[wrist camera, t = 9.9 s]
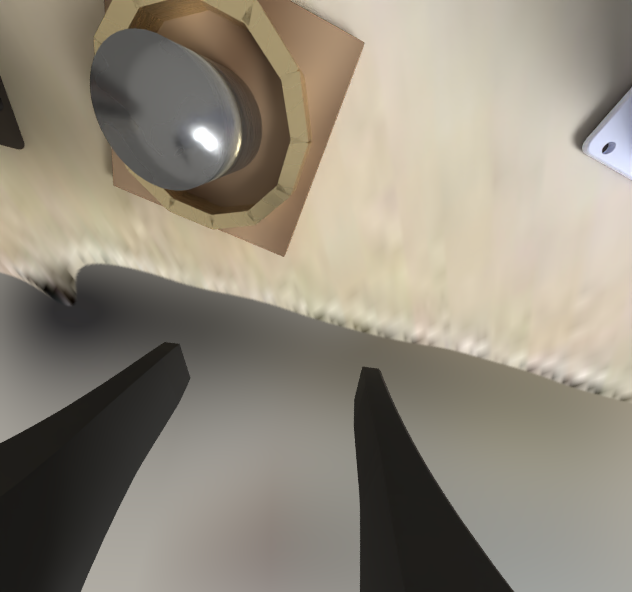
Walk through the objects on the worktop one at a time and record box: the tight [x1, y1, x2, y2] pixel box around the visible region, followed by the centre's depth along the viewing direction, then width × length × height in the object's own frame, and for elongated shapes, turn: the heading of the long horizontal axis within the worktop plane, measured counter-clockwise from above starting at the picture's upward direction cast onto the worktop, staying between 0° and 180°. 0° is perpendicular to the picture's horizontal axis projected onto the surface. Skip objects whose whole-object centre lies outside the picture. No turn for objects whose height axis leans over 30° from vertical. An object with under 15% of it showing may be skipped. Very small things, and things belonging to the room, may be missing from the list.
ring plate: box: [93, 0, 364, 257], centre depth 13 cm, size 11×11×2 cm
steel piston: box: [90, 28, 262, 191], centre depth 11 cm, size 5×5×5 cm
